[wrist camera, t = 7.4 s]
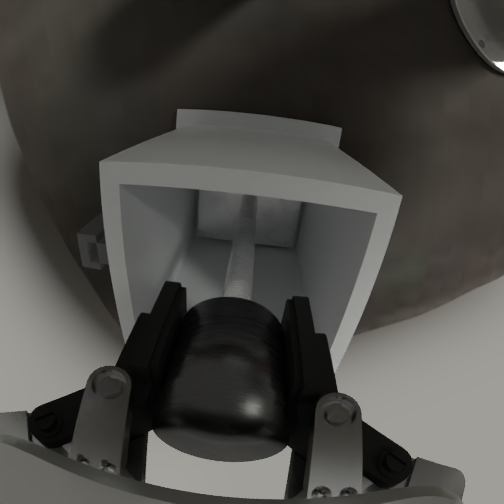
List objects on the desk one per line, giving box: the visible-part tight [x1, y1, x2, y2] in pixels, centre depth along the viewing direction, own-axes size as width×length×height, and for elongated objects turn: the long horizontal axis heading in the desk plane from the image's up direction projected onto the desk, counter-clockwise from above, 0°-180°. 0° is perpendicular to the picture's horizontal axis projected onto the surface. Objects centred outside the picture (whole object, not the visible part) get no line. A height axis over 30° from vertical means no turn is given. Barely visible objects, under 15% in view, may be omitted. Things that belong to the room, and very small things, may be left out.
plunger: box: [152, 190, 301, 462], centre depth 15 cm, size 8×8×20 cm
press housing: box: [77, 109, 402, 374], centre depth 18 cm, size 15×13×15 cm
